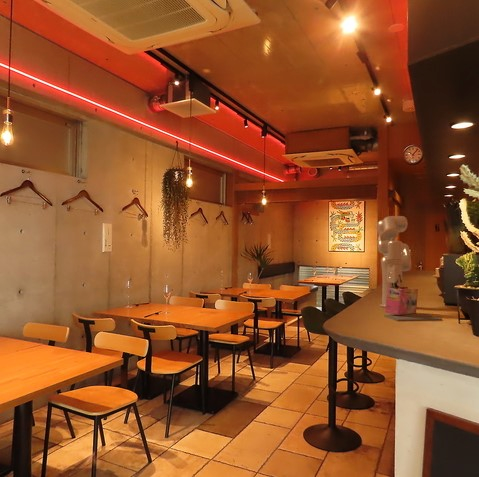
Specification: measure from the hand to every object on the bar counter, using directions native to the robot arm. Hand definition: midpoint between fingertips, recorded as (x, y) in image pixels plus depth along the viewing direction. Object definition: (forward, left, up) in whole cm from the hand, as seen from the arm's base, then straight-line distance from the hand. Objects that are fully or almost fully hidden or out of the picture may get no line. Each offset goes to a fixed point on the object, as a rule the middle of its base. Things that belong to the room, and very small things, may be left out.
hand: (394, 295), depth 232 cm
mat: (+18, 0, -10) cm, 21 cm away
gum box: (+7, 0, -9) cm, 11 cm away
